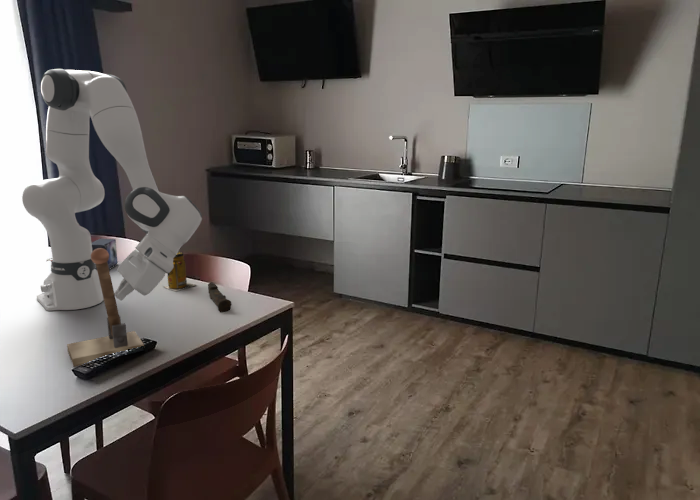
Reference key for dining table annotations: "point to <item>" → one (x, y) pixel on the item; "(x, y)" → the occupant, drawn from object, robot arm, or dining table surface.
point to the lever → (106, 285)
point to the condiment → (178, 274)
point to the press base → (104, 345)
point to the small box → (109, 246)
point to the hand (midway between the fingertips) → (117, 297)
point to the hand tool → (219, 298)
